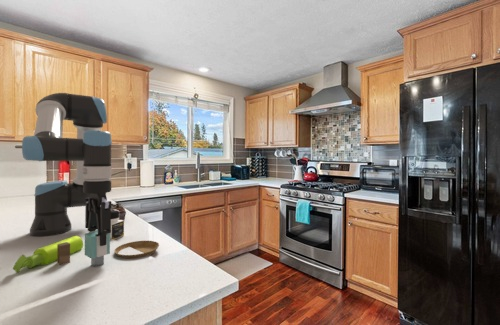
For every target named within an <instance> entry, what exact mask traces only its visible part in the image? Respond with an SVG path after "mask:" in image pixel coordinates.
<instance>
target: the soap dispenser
mask: <svg viewBox="0 0 500 325" xmlns="http://www.w3.org/2000/svg"><path fill="white" fill-rule="evenodd" d="M65 242H68V243H70V255H72V254H74V253H76V252H79V251H82V249H83V247H84V241H83V239H82V238H81V237H80V236H79V235H73V236H70V237H68V238H65V239H62V240H58V241H57V242H54V243H51V244H48V245H45V246H42V247H39V248H37V249H35V250H34V251H33V254H32V255H29V256H26V255H25V254H21V255H20V256H19V258H18V259H17V261H15V264H14V265H13V267H12V270H14V272H16V273H20V271H21V270H22V269H24V268H29V269H31V268H33V267H36V266H39V265H41V266H42V265H45V266H46V265H48V264H52V263H53V262H55V261H57V244H61V243H65Z"/></svg>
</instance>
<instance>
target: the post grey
mask: <svg viewBox="0 0 500 325" xmlns="http://www.w3.org/2000/svg"><path fill="white" fill-rule="evenodd" d="M90 259H91V258H90ZM90 263H91V264H90V265H91V266H92V267H94V268H96V267H99V266H102V265H103V266H104V265H105V255H103V256H100V257H96V258H93V259H91V262H90Z"/></svg>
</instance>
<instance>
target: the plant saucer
mask: <svg viewBox="0 0 500 325" xmlns="http://www.w3.org/2000/svg"><path fill="white" fill-rule="evenodd" d="M159 246H160V244H159V242H157V241H154V240H136V241H131V242H127V243H123V244H121V245H119V246H117V247H116V248H115V249H114V253H115V254H116V255H117V256H118V257H120V258H125V259H135V258H141V257H142V258H143V257H146V256H151V255H153V254H154V253H155V252H156V251H157V250H158V248H159ZM126 248H131V249H132V250H136V251H139V252H140V253H137V254H120V253H119V252H121V251H122V250H124V249H126Z"/></svg>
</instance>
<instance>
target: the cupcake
mask: <svg viewBox="0 0 500 325" xmlns="http://www.w3.org/2000/svg"><path fill="white" fill-rule="evenodd" d="M111 210H118V211H119V219H118V220H124V221H125V219H126V214H127V211H126V209H125V207H124V206H123V204H121V203H119V202H116V203H115V204H114V203H111Z"/></svg>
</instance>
